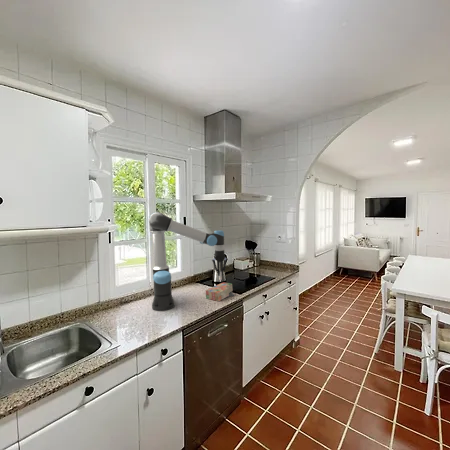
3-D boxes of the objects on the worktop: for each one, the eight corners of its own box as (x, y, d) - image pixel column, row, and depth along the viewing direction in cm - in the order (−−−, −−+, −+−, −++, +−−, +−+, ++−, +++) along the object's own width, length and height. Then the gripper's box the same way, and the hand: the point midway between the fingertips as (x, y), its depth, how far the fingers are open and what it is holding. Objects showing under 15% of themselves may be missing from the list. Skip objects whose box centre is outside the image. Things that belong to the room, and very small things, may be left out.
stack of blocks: (222, 282, 201) (235, 283, 194) (223, 289, 202) (235, 291, 194) (205, 290, 184) (218, 292, 177) (206, 298, 185) (218, 301, 177)
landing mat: (221, 297, 186) (221, 296, 186) (214, 288, 207) (214, 288, 207) (234, 295, 189) (234, 295, 189) (225, 287, 210) (225, 286, 210)
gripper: (212, 251, 190) (213, 281, 191) (229, 250, 194) (229, 280, 195) (210, 250, 197) (211, 279, 198) (226, 248, 201) (226, 277, 202)
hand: (220, 279), depth 196 cm, fingers closed
